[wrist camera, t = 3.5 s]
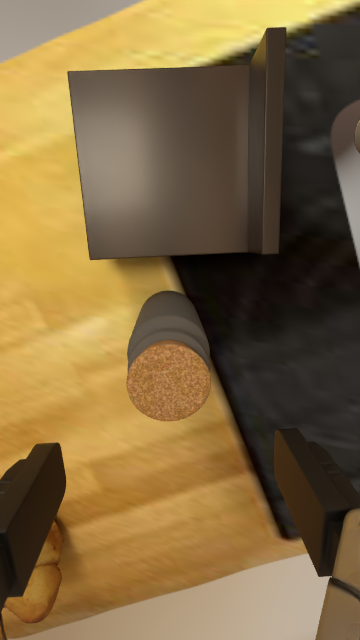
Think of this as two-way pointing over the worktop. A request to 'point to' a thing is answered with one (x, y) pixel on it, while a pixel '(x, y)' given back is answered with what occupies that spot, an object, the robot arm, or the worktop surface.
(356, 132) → the mug
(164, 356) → the bottle
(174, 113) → the dark brown legged piece
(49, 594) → the bread roll
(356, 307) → the worktop surface
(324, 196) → the worktop surface
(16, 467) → the robot arm
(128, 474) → the worktop surface
